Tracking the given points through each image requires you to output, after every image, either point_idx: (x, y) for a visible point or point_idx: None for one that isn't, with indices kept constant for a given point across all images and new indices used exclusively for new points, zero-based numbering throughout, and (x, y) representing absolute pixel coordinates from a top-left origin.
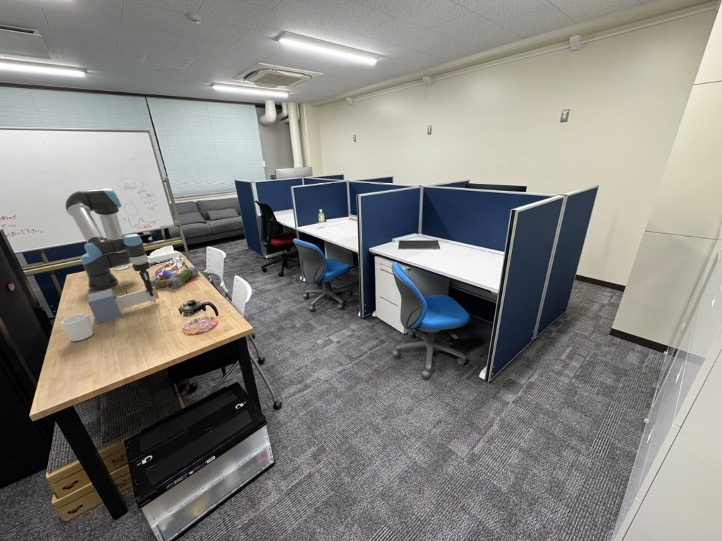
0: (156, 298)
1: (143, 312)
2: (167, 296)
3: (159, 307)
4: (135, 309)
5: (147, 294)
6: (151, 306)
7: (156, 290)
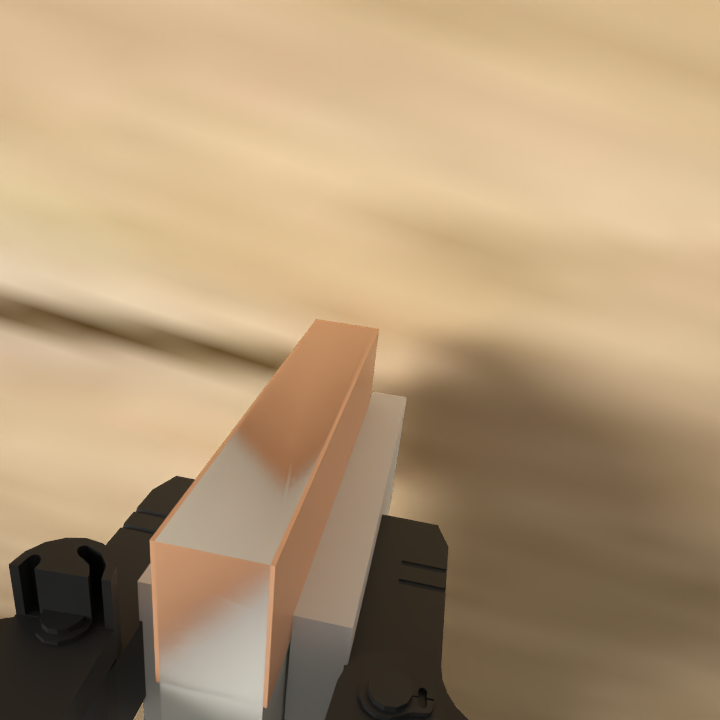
0: (369, 391)
1: (627, 655)
2: (205, 65)
3: (715, 420)
4: None
5: None
6: (484, 492)
7: (322, 464)
